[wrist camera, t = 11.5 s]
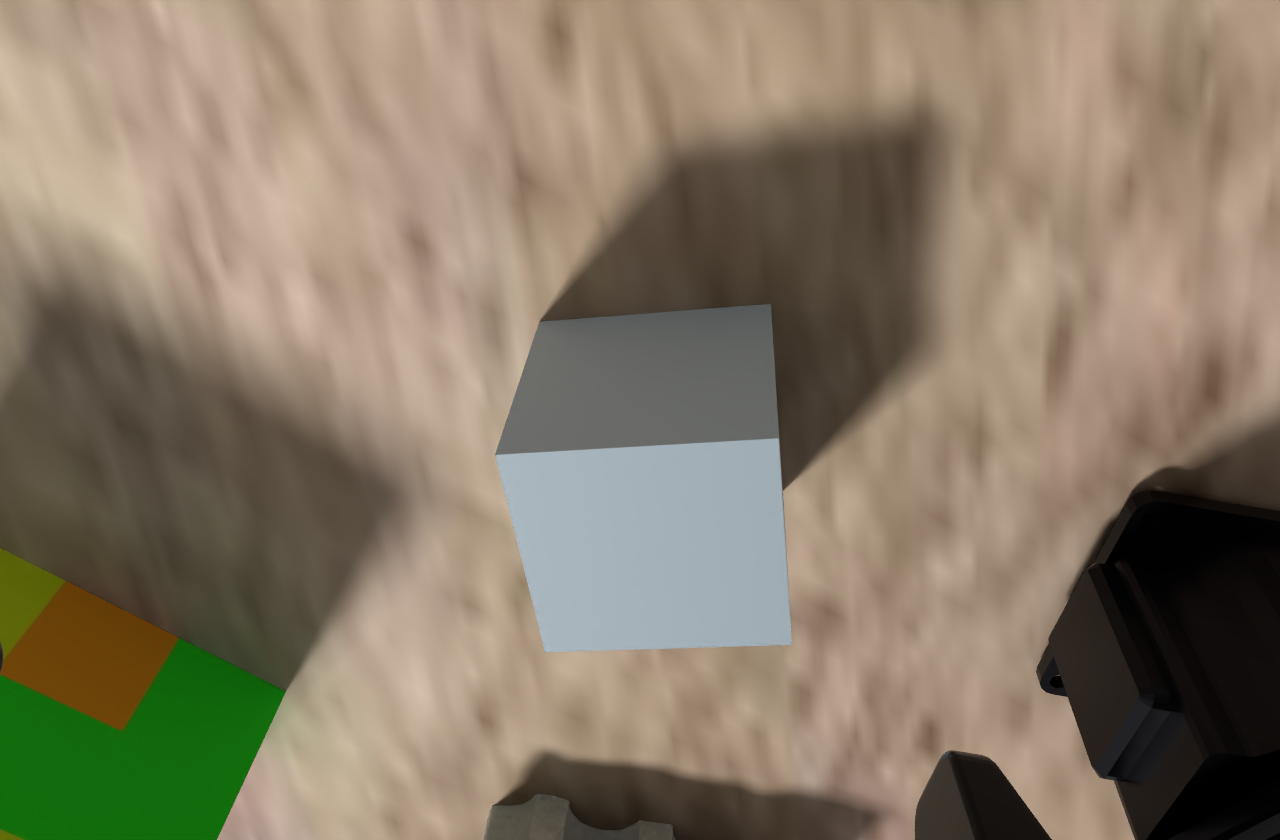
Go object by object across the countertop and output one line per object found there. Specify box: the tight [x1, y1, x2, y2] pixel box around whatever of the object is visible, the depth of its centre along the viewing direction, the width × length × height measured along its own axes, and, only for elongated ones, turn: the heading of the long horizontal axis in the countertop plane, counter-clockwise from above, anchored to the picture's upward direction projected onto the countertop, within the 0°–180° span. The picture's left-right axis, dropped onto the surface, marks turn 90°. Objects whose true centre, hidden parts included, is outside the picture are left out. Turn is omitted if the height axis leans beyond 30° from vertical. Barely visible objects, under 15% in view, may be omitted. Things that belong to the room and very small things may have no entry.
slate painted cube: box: [495, 304, 792, 652], centre depth 21 cm, size 5×5×5 cm
